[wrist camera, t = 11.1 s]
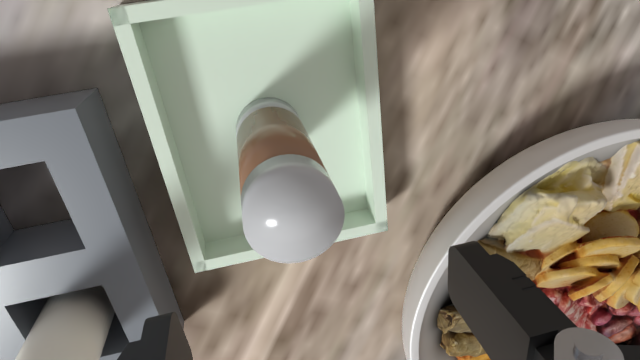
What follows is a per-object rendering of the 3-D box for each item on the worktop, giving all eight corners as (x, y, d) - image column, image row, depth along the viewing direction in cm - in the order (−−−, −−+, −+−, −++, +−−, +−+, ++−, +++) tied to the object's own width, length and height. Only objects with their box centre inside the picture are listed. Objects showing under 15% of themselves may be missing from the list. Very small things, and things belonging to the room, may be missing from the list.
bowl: (316, 324, 35) (338, 410, 28) (591, 17, 28) (710, 32, 21) (523, 418, 48) (574, 494, 41) (752, 221, 40) (860, 272, 34)
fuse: (48, 269, 28) (-46, 427, 18) (110, 256, 29) (51, 402, 19) (71, 314, 30) (-2, 478, 20) (130, 300, 30) (85, 455, 21)
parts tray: (119, 4, 22) (107, 8, 20) (358, -30, 24) (371, -31, 22) (197, 250, 30) (194, 273, 27) (376, 212, 31) (387, 230, 29)
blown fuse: (229, 103, 25) (232, 186, 15) (295, 91, 26) (339, 165, 16) (243, 164, 27) (253, 272, 17) (305, 152, 27) (349, 251, 18)
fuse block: (-98, 120, 23) (-157, 147, 19) (97, 87, 24) (75, 108, 20) (45, 354, 31) (21, 403, 27) (184, 321, 32) (179, 365, 29)
